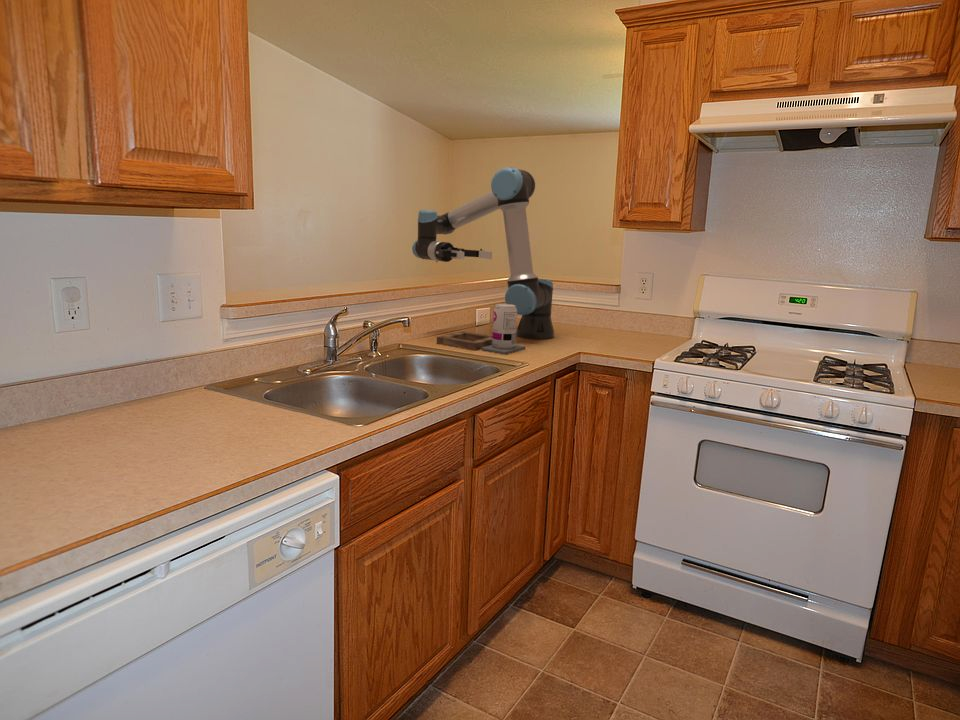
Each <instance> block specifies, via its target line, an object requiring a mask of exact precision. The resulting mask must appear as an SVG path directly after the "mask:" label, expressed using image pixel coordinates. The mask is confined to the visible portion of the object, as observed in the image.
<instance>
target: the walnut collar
mask: <svg viewBox="0 0 960 720" xmlns="http://www.w3.org/2000/svg"><path fill="white" fill-rule="evenodd" d="M436 344H437V345H441V344H442V346H447V345H448V347H453V346H455V347H454V348H458V347H460V348H459V349H464V348H465V349H466V350H469V349H471V350H470V351H478V349H479V350H481V348H482V347H486V346H490V345H492V335H489V334H483V333H477V332H471V331H465V330H462V331H457V332H454V333H448V334H445V335H439V336H436ZM465 349H464V350H465Z"/></svg>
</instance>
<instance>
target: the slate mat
mask: <svg viewBox="0 0 960 720" xmlns="http://www.w3.org/2000/svg"><path fill="white" fill-rule="evenodd" d="M522 349H523V350H526V345H520V344H515V346H514V347H513V348H511V349H500V348H495V347H494V346H493V345H490V346H486V347H482V348H481V349H480V351H481V350H483V351H482V352H486V351H489V352H488V353H492V352H494V353H493V354H498V353H500V354H499V355H503V354H505V355H504V356H506V354H507V355H509V353H510V354H512V352H513V353H516V351H517V352H520V351H523V350H522ZM519 350H520V351H519Z"/></svg>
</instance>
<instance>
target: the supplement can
mask: <svg viewBox="0 0 960 720" xmlns="http://www.w3.org/2000/svg"><path fill="white" fill-rule="evenodd" d="M517 317H518V314H517V309H516V306H515V305H512V304H506V303H496V304H495V305H494V308H493V318H492V335H491V336H492V345H493V346H494V347H495V348H500V349H511V348H513V347H514V346H515V345H516V336H517V335H516V333H517Z"/></svg>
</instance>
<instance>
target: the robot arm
mask: <svg viewBox="0 0 960 720" xmlns="http://www.w3.org/2000/svg"><path fill="white" fill-rule="evenodd" d="M490 188H491V191H489V192H487V193H485V194H483V195H481V196H479V197H477V198H475V199H473V200H471V201H469V202H466V203H465V204H462V205H461V206H460V205H459V206H458V207H456V208H454V209H452V210H450V211H448V212H446V213H443V214H441V215H438V211H436V210H431V209H420V210H419V211H418V213H417V214H418V217H417V240H415V241H414V243H413V245H412V247H411V248H412V253H413V255H414V256H415V257H416V258H417V259H422V260H429V261H435V262H436V263H439V262H445V263H448V262H451V261H452V260H453V259H456V260H464V259H465V257H466V258H467V257H468V258H469V257H470V258H478V259H485V260H486V259H487V260H492V257H493V251H488V250H483V249H482V248H480V249H479V250H477V249H465V248H462V247H461V248H458V247H454V245H453V244H452V243H451V242H447V241H439V240H437V235H450V234H452V233H454V232H455V230H457V229H459V228H461V227H463V226H465V225H467V224H470V223H472V222H475V221H476V220H478V219H481V218H483V217H485V216H487V215H489V214H492V213H493V212H494V213H495V212H496V211H498V210H501V211H502V216H503V223H504V224H503V225H504V231H505V241H506V248H507V255H508V256H507V258H508V263H509V274H510V275H509V278H508V279H507V290H506V292H505V295H504V303H505V304H512V305H515V306H516V309H517V316H521V317H520V320H519V322H518V326H516V336H518V337H521V338H525V339H531V340H532V339H533V340H535V339H536V340H547V339H548V340H549V339H552V338H554V336H555V329H554V326H553V322H552V317H551V316H552V306H553V305H552V304H553V293H554V292H553V291H554V283H553V281H552V280H551V279H544V278H539V277H538V276H537V275H536V274H535V273H534V268H533V260H532V251H531V245H530V233H529V225H528V217H527V207H528V205H529V204H530V198H531V197H532V196H533V195H534V193H535V190H536V181H535V178H534V177H533V175H532V174H531V173H530V172H528V171H527V170H524V169H519V168H516V167H511V166H510V167H503V168H500V169H499V170H497V171H496V172H495V174H494V176H493V177H492V179H491V183H490Z"/></svg>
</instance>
